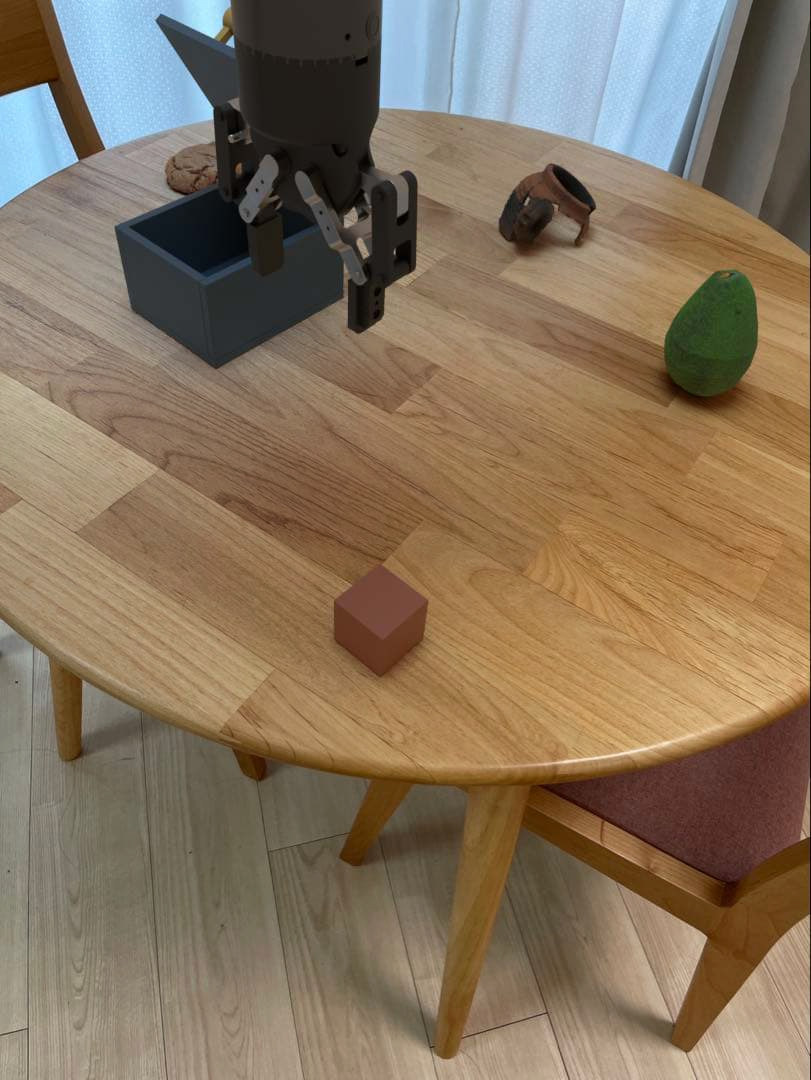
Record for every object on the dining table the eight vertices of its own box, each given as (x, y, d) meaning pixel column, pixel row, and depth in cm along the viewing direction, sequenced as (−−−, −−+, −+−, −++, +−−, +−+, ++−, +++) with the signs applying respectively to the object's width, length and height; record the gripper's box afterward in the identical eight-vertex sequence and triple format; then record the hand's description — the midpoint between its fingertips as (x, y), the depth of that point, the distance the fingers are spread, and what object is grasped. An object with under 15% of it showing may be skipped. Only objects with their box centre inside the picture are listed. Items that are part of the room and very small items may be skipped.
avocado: (700, 353, 87) (742, 244, 78) (751, 402, 83) (803, 292, 74) (634, 371, 85) (670, 261, 76) (684, 423, 80) (728, 312, 71)
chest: (215, 369, 81) (205, 285, 75) (131, 309, 86) (113, 226, 80) (343, 297, 90) (344, 216, 83) (259, 246, 95) (254, 166, 88)
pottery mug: (505, 206, 105) (551, 149, 99) (563, 261, 105) (611, 207, 100) (474, 228, 95) (523, 166, 90) (538, 288, 96) (590, 229, 91)
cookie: (148, 179, 103) (144, 154, 100) (211, 148, 109) (209, 123, 106) (210, 209, 99) (207, 184, 97) (272, 175, 105) (271, 150, 103)
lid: (259, 71, 67) (301, 19, 67) (154, 20, 72) (194, -28, 72) (342, 215, 83) (375, 173, 83) (251, 165, 88) (283, 125, 88)
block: (380, 677, 61) (382, 640, 57) (333, 638, 63) (333, 600, 59) (423, 638, 63) (429, 600, 60) (377, 601, 65) (379, 562, 62)
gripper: (157, 0, 45) (197, 276, 57) (360, 89, 39) (356, 374, 52) (264, -32, 49) (280, 233, 61) (464, 46, 43) (437, 321, 56)
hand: (315, 298), depth 57 cm, fingers open, 8 cm apart
